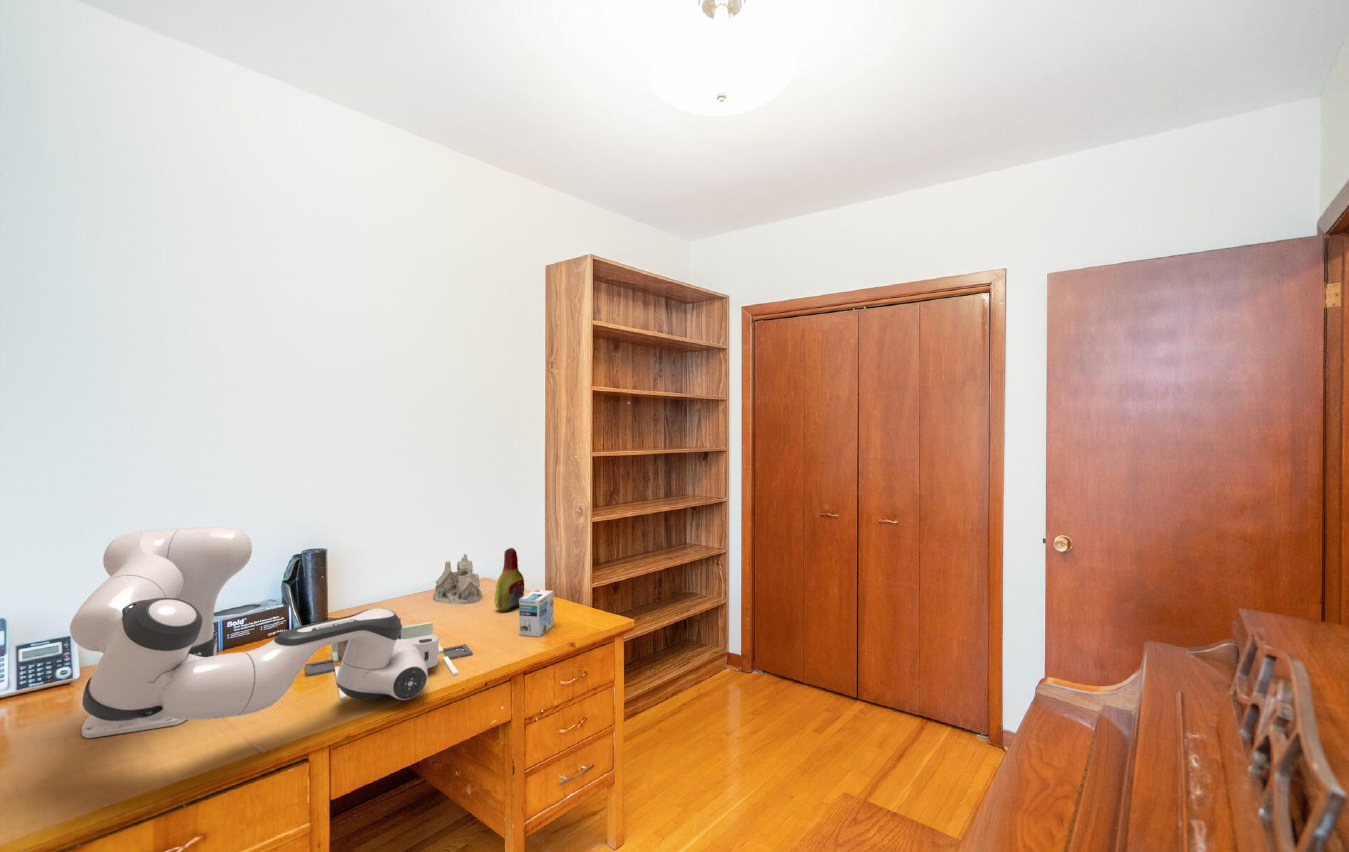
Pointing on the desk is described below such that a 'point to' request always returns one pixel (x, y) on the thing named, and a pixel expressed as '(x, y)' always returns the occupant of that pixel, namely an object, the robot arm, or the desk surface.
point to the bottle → (509, 583)
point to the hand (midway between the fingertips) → (392, 641)
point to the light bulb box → (536, 613)
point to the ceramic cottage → (458, 584)
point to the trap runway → (406, 633)
